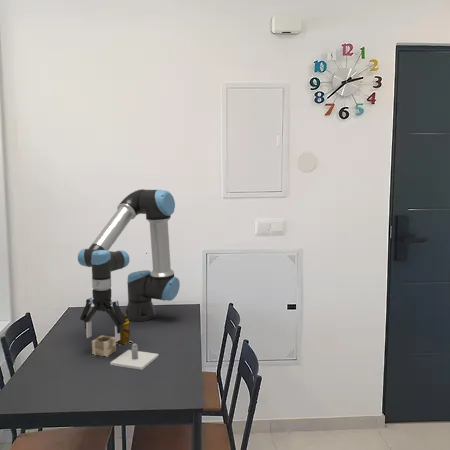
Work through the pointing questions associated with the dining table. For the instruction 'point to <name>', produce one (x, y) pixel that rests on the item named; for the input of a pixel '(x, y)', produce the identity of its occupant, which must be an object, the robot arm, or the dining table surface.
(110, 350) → the wooden hollow block
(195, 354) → the dining table surface
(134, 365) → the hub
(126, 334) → the condiment
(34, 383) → the dining table surface
